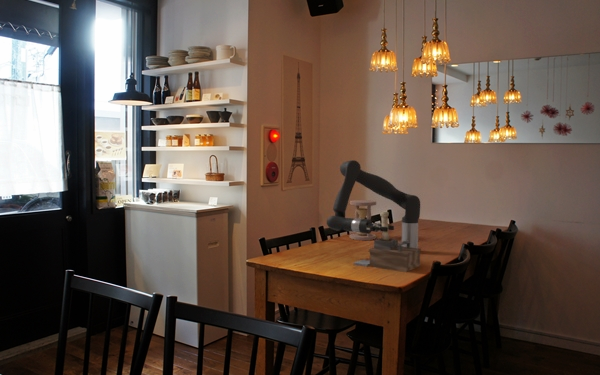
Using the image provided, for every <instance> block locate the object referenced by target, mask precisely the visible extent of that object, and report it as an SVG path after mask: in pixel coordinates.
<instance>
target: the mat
mask: <svg viewBox="0 0 600 375" xmlns="http://www.w3.org/2000/svg"><path fill="white" fill-rule="evenodd" d="M353 265H354V266H360V267H370V259H360V260H357V261H354V262H353Z"/></svg>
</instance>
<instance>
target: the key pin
mask: <svg viewBox="0 0 600 375" xmlns="http://www.w3.org/2000/svg"><path fill="white" fill-rule="evenodd" d="M389 213H390V212H388V211H382V212H380V213H379V216H380V218H381V224H382V227H388V225H389V218H388V217H389ZM381 232H382V233H381V234H382V236H381V238H382V239H383V241H389V239H390V236H389V234H390V233H389V230H388V231H387V232H384V231H381Z"/></svg>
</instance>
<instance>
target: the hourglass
mask: <svg viewBox="0 0 600 375" xmlns="http://www.w3.org/2000/svg"><path fill="white" fill-rule="evenodd" d="M349 204H350V205H351V206H355V211H354V216H355V219H358V218H359V217H360V218H359V219H370V220H372V207H373V206H377V201H376V200H371V199H370V200H368V199H354V200H350V201H349ZM360 207H361V208H360ZM362 207H363V208H362ZM364 207H366V208H364ZM350 238H351V239H350ZM349 239H350V240H353V239H354V241H374V240H377V235H376V234H374V233H369V234H366V233H357V232H354V233H351V234H349ZM373 239H374V240H373Z"/></svg>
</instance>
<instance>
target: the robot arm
mask: <svg viewBox="0 0 600 375" xmlns="http://www.w3.org/2000/svg"><path fill="white" fill-rule="evenodd" d="M339 170H340V173H341V175H342V176H343V177H344V180H343V183H342V185H341V187H340V189H339V191H338V192H337V195H336V197H335V200H334V203H333V207H332V210H333V212H334V215H331V216H329V217H328V218H327V220H326V226H327V227H328V228H330V229H331V230H333V231H342V230H343V231H345V232H354V233H355V232H357V233H366V234H369V233H370V234H372V232H375V233H377V232H379V233H380V232H382V231H384V232H387V231H388V232H389V231H394V230H395V226H394V225H390V224H388V227H382V222H381V223H380V222H379V223H378V222H374V223H373V221H372V219H367V218H364V219H362V218H358V219H356V218H351V217H346V210H347V208H348V203H349V202H350V201H349V200H350V197H351V194H352V192H353V191H352V190H353V188H354V186H355V183H356V182H357V183H358V184H360V185H362V186H363V187H365V188H367V189H368V190H369V191H372V192H374V193H375V194H377V195H378V196H381V197H383V198H385V199H387V200H390V201H392V202H393V203H394V204H396V205H397V206H399V207H400V208H401V209H403V210H404V211H405V213H404V216H402V217H401V242H403V241H406V240H410V247H412V248H419V247H418V246H419V245H418V244H419V219H420V216H421V200H420V198H419V197H418V196H417V195H414V194H409V193H405V192H404V191H401V190H399V189H398V188H396V187H395V186H394V185H393V184H392V183H391V182H390V181H388V180H387V179H385V178H383V177H381V176H379V175H376V174H373V173H370V172H366V171H364V170H362V169H361V164H360V163H359V161H357V160H354V159H353V160H347V161H344V162H342V164H340V166H339ZM402 246H403V247H407V244H404V245H402Z"/></svg>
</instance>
